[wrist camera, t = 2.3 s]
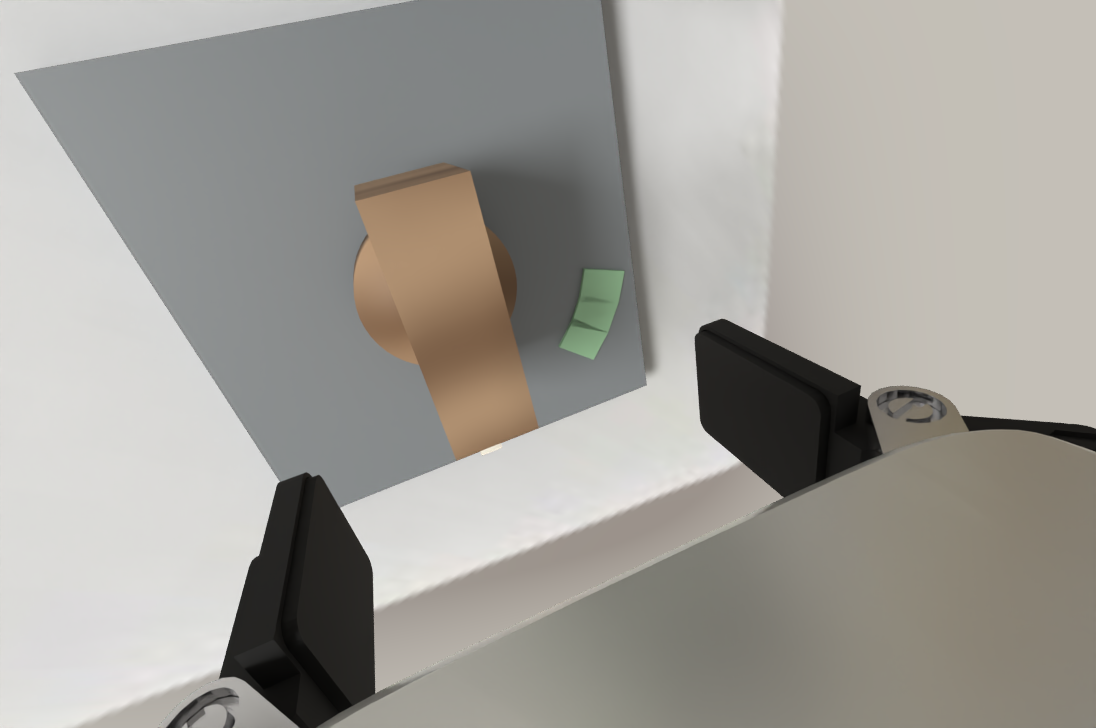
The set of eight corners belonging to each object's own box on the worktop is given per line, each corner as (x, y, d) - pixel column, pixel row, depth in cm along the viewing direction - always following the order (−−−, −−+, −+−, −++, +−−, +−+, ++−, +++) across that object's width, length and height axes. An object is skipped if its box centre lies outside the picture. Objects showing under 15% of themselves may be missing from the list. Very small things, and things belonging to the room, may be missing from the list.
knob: (310, 191, 19) (292, 218, 13) (474, 149, 21) (523, 156, 15) (429, 467, 27) (451, 562, 21) (544, 421, 28) (595, 498, 22)
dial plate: (39, 77, 17) (10, 72, 15) (582, -23, 21) (598, -35, 20) (307, 502, 27) (305, 523, 26) (634, 375, 31) (648, 386, 30)
